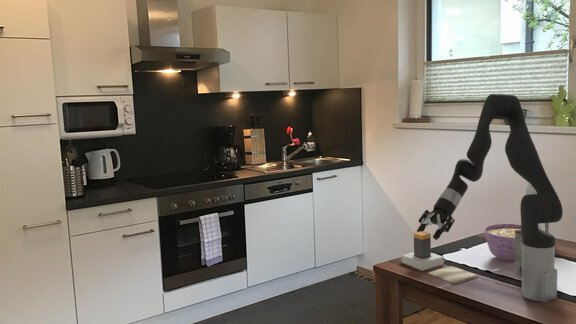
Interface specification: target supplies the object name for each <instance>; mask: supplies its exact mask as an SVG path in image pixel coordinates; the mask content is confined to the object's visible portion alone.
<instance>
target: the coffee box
mask: <svg viewBox="0 0 576 324" xmlns="http://www.w3.org/2000/svg"><path fill="white" fill-rule="evenodd" d="M539 230H540V229H539ZM540 231H543V232H545V230H542V229H541V230H540ZM546 233H547V232H546ZM514 264H515V266H514V267H515V274H516V275H517V276H519V277H520V278H521V279H522V233H521V230H516V231H515V263H514Z"/></svg>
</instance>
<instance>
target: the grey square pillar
mask: <svg viewBox="0 0 576 324" xmlns="http://www.w3.org/2000/svg"><path fill="white" fill-rule="evenodd" d="M431 236H432V235H431V233H429V232H427V231H425V230H424V231H420V232H417V231H416V232H413V252H414V256H415V257H418V258H421V259H424V258H428V257H431V253H432V251H431V250H432V249H431V247H432V246H431V245H432V244H431V242H432V241H431Z"/></svg>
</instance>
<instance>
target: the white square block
mask: <svg viewBox="0 0 576 324" xmlns="http://www.w3.org/2000/svg"><path fill="white" fill-rule="evenodd" d="M444 260H445V259H444V256H442V255H439V254H437V253H434V252H431V257H428V258H424V259H421V258H418V257H415V256H414V251H412V252H410V253H405V254H401V263H402V264H405V265H406V266H410V267H412V268H415V269H417V270H420V271H426V270H429V269H433V268H436V267H440V266H443V265H444V263H445V262H444Z"/></svg>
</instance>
